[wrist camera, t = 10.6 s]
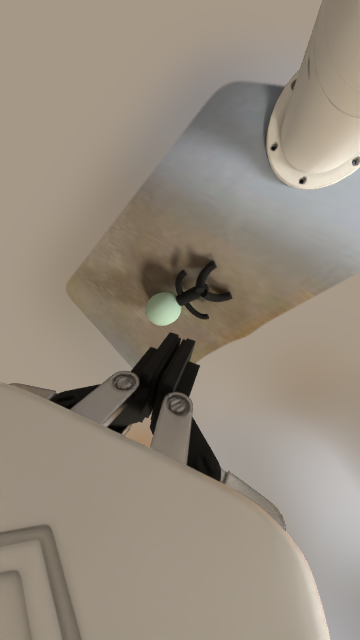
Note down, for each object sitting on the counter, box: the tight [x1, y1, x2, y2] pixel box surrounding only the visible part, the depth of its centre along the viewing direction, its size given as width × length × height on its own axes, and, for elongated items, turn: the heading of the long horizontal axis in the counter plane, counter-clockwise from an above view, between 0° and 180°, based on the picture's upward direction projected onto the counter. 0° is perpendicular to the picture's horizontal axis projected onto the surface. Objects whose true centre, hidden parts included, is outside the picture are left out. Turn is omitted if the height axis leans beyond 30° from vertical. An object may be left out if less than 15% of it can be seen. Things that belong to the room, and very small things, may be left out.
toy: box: [146, 261, 232, 325], centre depth 36 cm, size 10×6×15 cm
